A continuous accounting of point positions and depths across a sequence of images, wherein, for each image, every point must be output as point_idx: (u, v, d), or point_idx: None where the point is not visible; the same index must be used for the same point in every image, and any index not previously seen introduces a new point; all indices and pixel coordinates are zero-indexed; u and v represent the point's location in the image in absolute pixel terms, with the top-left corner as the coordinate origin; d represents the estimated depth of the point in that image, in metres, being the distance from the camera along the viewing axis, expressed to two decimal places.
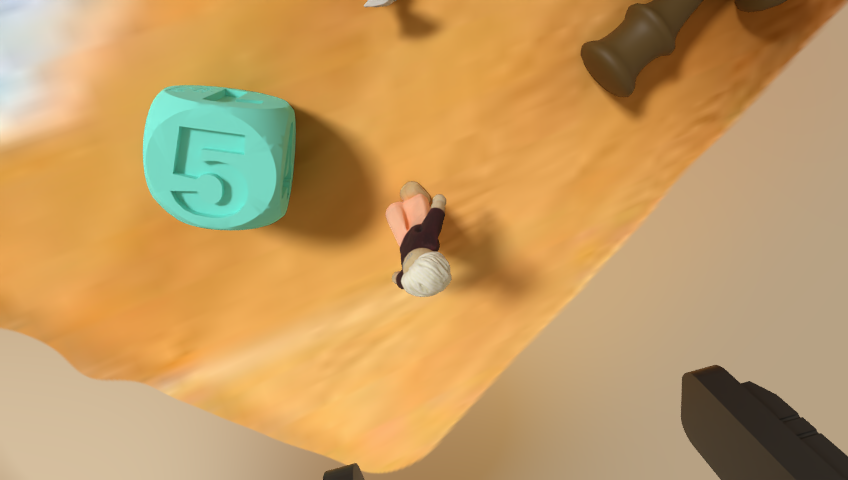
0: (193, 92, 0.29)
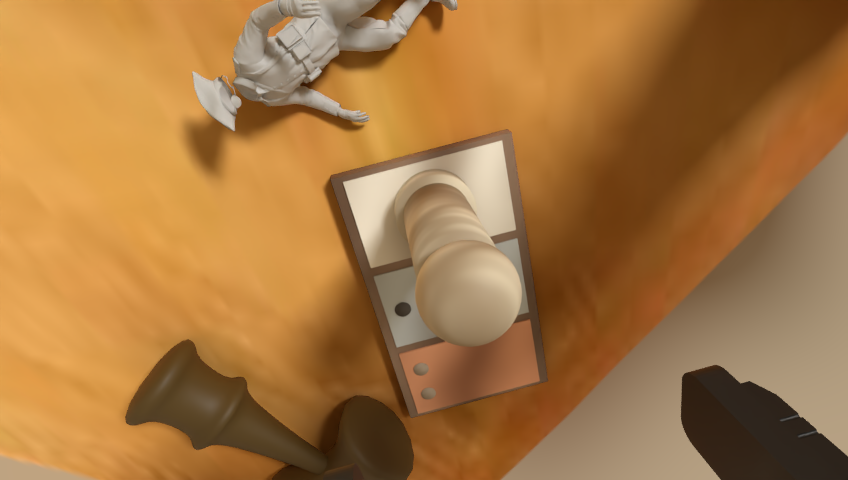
0: None
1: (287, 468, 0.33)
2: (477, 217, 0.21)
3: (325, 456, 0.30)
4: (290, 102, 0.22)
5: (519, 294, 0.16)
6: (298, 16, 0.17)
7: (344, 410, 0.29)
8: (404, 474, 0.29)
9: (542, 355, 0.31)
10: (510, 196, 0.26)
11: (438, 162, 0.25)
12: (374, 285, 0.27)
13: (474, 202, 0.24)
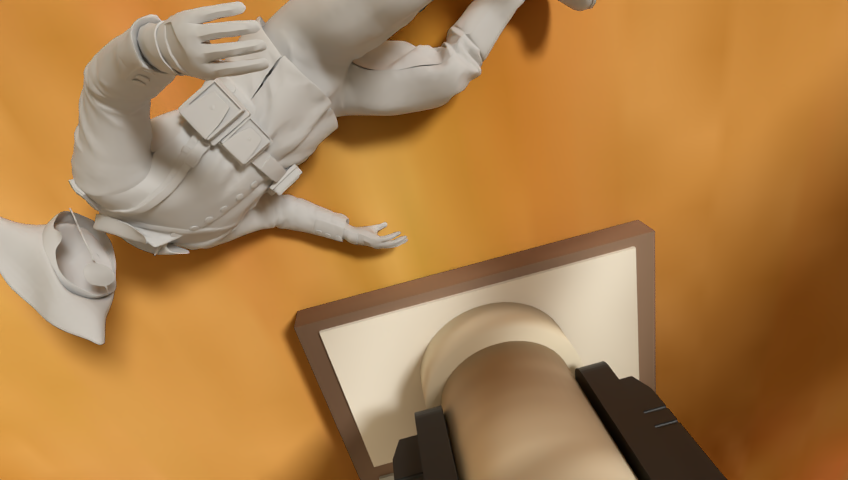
0: None
1: None
2: (629, 466, 0.09)
3: None
4: (242, 234, 0.10)
5: None
6: (199, 76, 0.05)
7: None
8: None
9: None
10: (637, 340, 0.14)
11: (509, 289, 0.12)
12: None
13: None
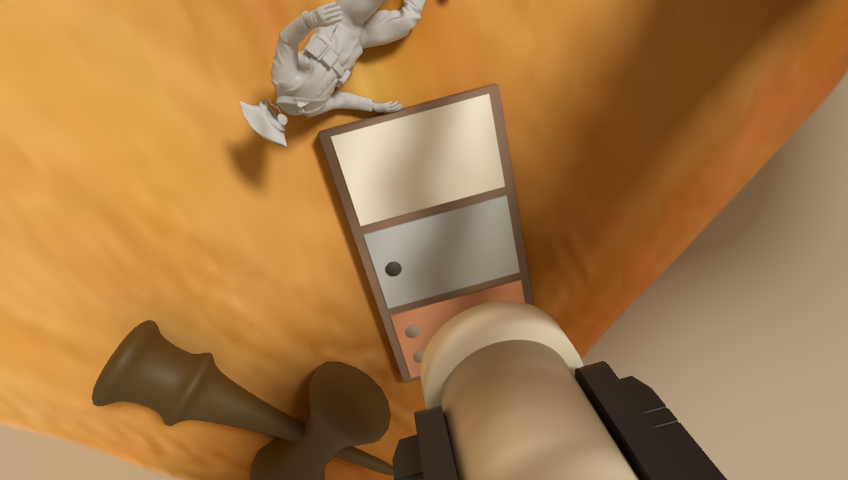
0: None
1: (272, 442, 0.33)
2: (629, 464, 0.09)
3: (302, 424, 0.30)
4: (328, 108, 0.23)
5: None
6: (323, 25, 0.18)
7: (313, 376, 0.29)
8: (378, 432, 0.28)
9: None
10: (498, 151, 0.26)
11: (425, 115, 0.25)
12: (364, 244, 0.27)
13: None
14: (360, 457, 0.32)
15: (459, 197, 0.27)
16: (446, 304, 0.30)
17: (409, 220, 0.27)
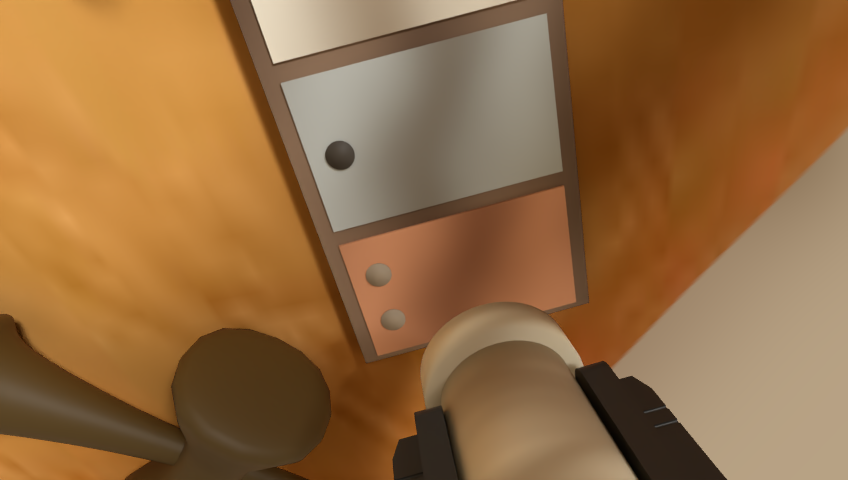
0: None
1: (151, 462, 0.21)
2: (629, 465, 0.09)
3: (183, 433, 0.18)
4: None
5: None
6: None
7: (189, 349, 0.17)
8: (300, 445, 0.16)
9: (582, 256, 0.19)
10: None
11: None
12: (284, 102, 0.15)
13: None
14: None
15: (459, 11, 0.14)
16: (436, 227, 0.17)
17: (366, 57, 0.15)
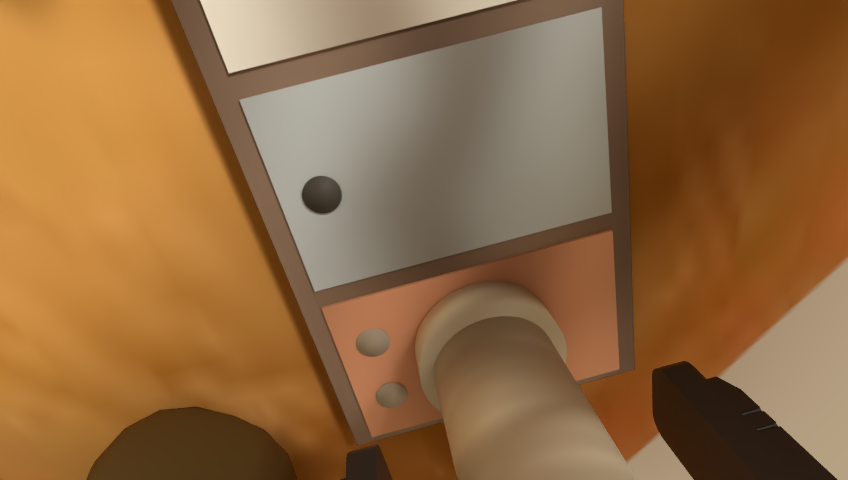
0: None
1: None
2: (601, 424, 0.10)
3: None
4: None
5: None
6: None
7: (106, 449, 0.13)
8: None
9: (629, 314, 0.15)
10: None
11: None
12: (244, 125, 0.11)
13: (563, 343, 0.13)
14: None
15: (484, 4, 0.10)
16: (447, 283, 0.14)
17: (357, 64, 0.11)
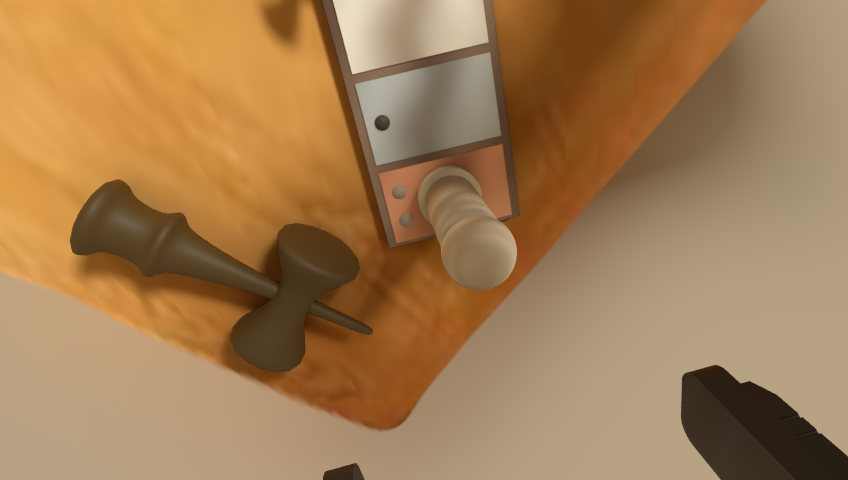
0: None
1: None
2: (483, 201, 0.28)
3: (277, 282, 0.32)
4: None
5: (515, 252, 0.23)
6: None
7: None
8: (345, 274, 0.30)
9: (514, 186, 0.33)
10: (483, 4, 0.28)
11: None
12: (355, 94, 0.29)
13: (480, 190, 0.31)
14: (335, 314, 0.33)
15: (445, 50, 0.29)
16: (432, 165, 0.32)
17: (398, 72, 0.29)
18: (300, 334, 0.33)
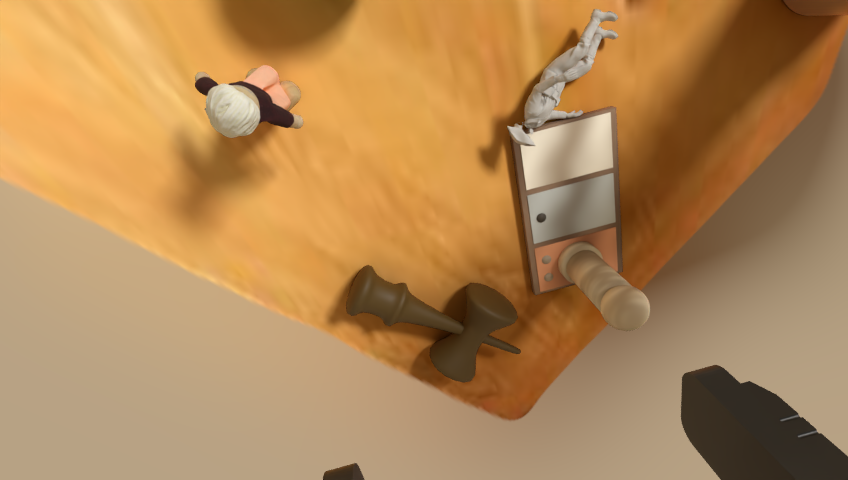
0: None
1: (437, 341, 0.51)
2: (613, 269, 0.44)
3: (461, 323, 0.48)
4: None
5: (649, 308, 0.39)
6: (566, 81, 0.36)
7: (467, 289, 0.47)
8: (513, 317, 0.46)
9: (620, 252, 0.49)
10: (611, 146, 0.44)
11: (573, 124, 0.42)
12: (526, 201, 0.45)
13: (602, 258, 0.47)
14: (498, 342, 0.49)
15: (585, 173, 0.45)
16: (569, 242, 0.48)
17: (555, 187, 0.45)
18: (475, 356, 0.49)
